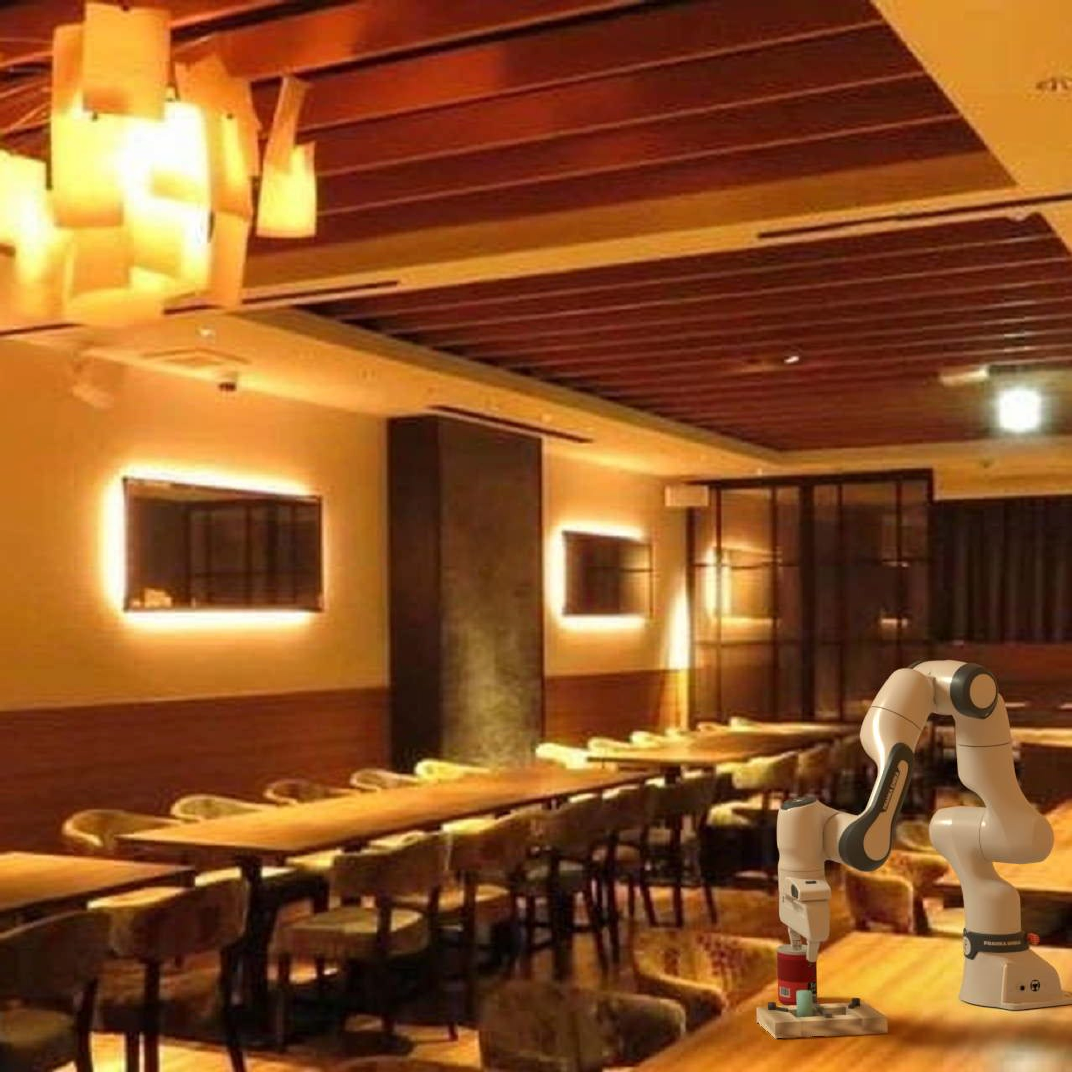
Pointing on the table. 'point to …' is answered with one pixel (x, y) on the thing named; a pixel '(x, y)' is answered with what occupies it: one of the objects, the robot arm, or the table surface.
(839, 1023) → the shelf
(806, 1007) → the pale green rounded block
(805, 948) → the canned food
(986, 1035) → the table surface
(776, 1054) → the table surface
